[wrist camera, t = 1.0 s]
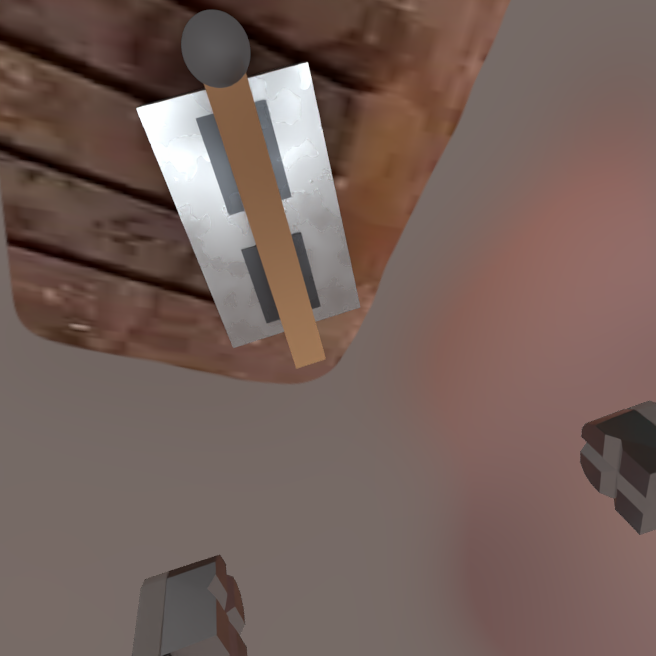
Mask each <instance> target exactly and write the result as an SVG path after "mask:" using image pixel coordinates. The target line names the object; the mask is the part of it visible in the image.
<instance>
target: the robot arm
mask: <svg viewBox="0 0 656 656" xmlns="http://www.w3.org/2000/svg"><path fill="white" fill-rule="evenodd" d="M581 437H582V438H583V439H584V440H585V441H586V442H587V443H586V444H585V446H584V447H583V449H582V450H581V451H580V463H581V466H582V468H583V471H584V473H585V475H586V477H587V478H588V480H589V481H590V483H591V484H592V485H593V486H594V487H595V489H596V490H597V491H598V492H599V493H601V494H604V495H606V496H609V497H611V498H614V505H615V510H616V511H617V512H618V513H619V514H620V515H621V516H622V517H623V518H624V519H625V520H626V521H627V522H628V523H629V524H630V525H631V526H632V527H633V528H634V529H635V530H636V531H637V533H638V534H639V535H641V534H644V533H647V532H650V531H652V530H655V529H656V402H652V401H647V402H644V403H641V404H638V405H635V406H633V407H630V408H627V409H623V410H620V411H617V412H615V413H612V414H609V415H607V416H604V417H601V418H599V419H596V420H593V421H591V422H588V423H586V424H585V425H584V426H583V428H582V435H581ZM244 625H245V617H244V607H243V603H242V598H241V594H240V590H239V588H238V585H237V583H236V581H235V579H234V577H233V576H230V575H227V573H226V563H225V561H224V560H223V558H222V557H221V555H217V556H214V557H211V558H208V559H205V560H201V561H199V562H195V563H192V564H189V565H186V566H183V567H180V568H177V569H174V570H171V571H168V572H165V573H162V574H159V575H156V576H153V577H151V578H148V579H145V580H144V583H143V585H142V587H141V590H140V598H139V606H138V613H137V621H136V628H135V636H134V644H133V651H132V656H247V647H246V645H245V643H244V642H243V640H242V638H241V637H240V634H241V632H242V630H243V628H244Z"/></svg>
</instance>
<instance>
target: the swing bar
mask: <svg viewBox="0 0 656 656" xmlns="http://www.w3.org/2000/svg"><path fill="white" fill-rule="evenodd" d="M181 49H182V55H183V58H184V61H185V63H186V65H187V67H188V69H189V70H190V72H191V73H192V74H193V75H194V77H196V78H197V79H198V80H199V81H200V82H202V83H204V86H205V89H206V92H207V95H208V98H209V102H210V105H211V108H212V111H213V114H214V117H215V120H216V123H217V126H218V129H219V132H220V135H221V138H222V141H223V145H224V148H225V151H226V154H227V157H228V160H229V163H230V166H231V169H232V172H233V175H234V178H235V181H236V184H237V188H238V191H239V194H240V197H241V200H242V203H243V206H244V209H245V212H246V215H247V218H248V221H249V224H250V228H251V231H252V234H253V237H254V240H255V243H256V246H257V249H258V252H259V255H260V258H261V261H262V264H263V267H264V271H265V274H266V277H267V280H268V283H269V286H270V289H271V292H272V295H273V298H274V301H275V304H276V307H277V310H278V314H279V317H280V320H281V323H282V326H283V329H284V332H285V335H286V338H287V341H288V344H289V347H290V350H291V353H292V357H293V360H294V363H295V366H296V369H297V368H300V367H303V366H306V365H309V364H312V363H315V362H318V361H321V360H325V359H326V358H325V354H324V350H323V347H322V343H321V340H320V336H319V333H318V329H317V325H316V322H315V318H314V315H313V311H312V307H311V304H310V300H309V297H308V293H307V290H306V286H305V282H304V279H303V275H302V272H301V268H300V264H299V261H298V257H297V254H296V250H295V246H294V243H293V239H292V236H291V232H290V229H289V225H288V221H287V218H286V214H285V211H284V207H283V203H282V200H281V196H280V193H279V189H278V185H277V182H276V178H275V175H274V171H273V168H272V164H271V160H270V157H269V153H268V150H267V146H266V142H265V139H264V135H263V132H262V128H261V125H260V121H259V117H258V114H257V110H256V107H255V103H254V99H253V96H252V92H251V89H250V85H249V81H248V78H247V74H246V71H247V69H248V66H249V63H250V44H249V40H248V37H247V35H246V33H245V31H244V29H243V27H242V26H241V25H240V24H239V22H238V21H237V20H236V19H234V18H233V17H232V16H230V15H229V14H227V13H225V12H222V11H219V10H205V11H202V12H199V13H198V14H196V15H195V16H193V17H192V18H191V19H190V20H189V21H188V23H187V24H186V26H185V28H184V31H183V34H182V40H181Z"/></svg>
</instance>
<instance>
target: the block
mask: <svg viewBox="0 0 656 656" xmlns="http://www.w3.org/2000/svg"><path fill="white" fill-rule="evenodd" d="M247 78H248V81H249V85H250V89H251V92H252V96H253V99H254V103H255V107H256V110H257V114H258V117H259V121H260V125H261V128H262V132H263V135H264V139H265V142H266V146H267V150H268V153H269V157H270V160H271V164H272V168H273V171H274V175H275V178H276V182H277V185H278V189H279V193H280V196H281V200H282V203H283V207H284V211H285V214H286V218H287V221H288V225H289V229H290V232H291V236H292V239H293V243H294V246H295V250H296V254H297V257H298V261H299V264H300V268H301V272H302V275H303V279H304V282H305V286H306V290H307V293H308V297H309V300H310V304H311V307H312V311H313V315H314V318H315V322H316V321H319V320H322V319H325V318H328V317H332V316H335V315H338V314H341V313H344V312H347V311H350V310H353V309H357V308H360V304H359V299H358V294H357V290H356V285H355V280H354V276H353V271H352V266H351V261H350V257H349V252H348V247H347V243H346V238H345V233H344V229H343V224H342V219H341V215H340V210H339V205H338V201H337V196H336V191H335V187H334V182H333V177H332V173H331V168H330V163H329V158H328V154H327V149H326V144H325V140H324V135H323V130H322V126H321V121H320V116H319V112H318V107H317V102H316V98H315V93H314V88H313V84H312V79H311V74H310V70H309V65H308V62H298V63H294V64H291V65H287V66H283V67H280V68H276V69H272V70H269V71H265V72H261V73H257V74H254V75H250V76H247ZM136 109H137V112H138V114H139V116H140V119H141V121H142V124H143V126H144V129H145V131H146V134H147V136H148V139H149V141H150V144H151V146H152V149H153V151H154V154H155V156H156V158H157V161H158V163H159V166H160V168H161V171H162V173H163V176H164V178H165V181H166V183H167V186H168V188H169V191H170V193H171V195H172V198H173V200H174V203H175V205H176V208H177V210H178V213H179V215H180V218H181V220H182V223H183V225H184V228H185V230H186V232H187V235H188V237H189V240H190V242H191V245H192V247H193V250H194V252H195V255H196V257H197V260H198V262H199V265H200V267H201V270H202V272H203V274H204V277H205V279H206V282H207V284H208V287H209V289H210V292H211V294H212V297H213V299H214V302H215V304H216V307H217V309H218V311H219V314H220V316H221V319H222V321H223V324H224V326H225V329H226V331H227V334H228V336H229V339H230V341H231V344H232V346H233V348H235V347H238V346H241V345H244V344H247V343H250V342H253V341H256V340H260V339H263V338H266V337H269V336H272V335H275V334H278V333H282V332H284V329H283V326H282V323H281V320H280V317H279V314H278V310H277V307H276V304H275V301H274V298H273V295H272V292H271V289H270V286H269V283H268V280H267V277H266V274H265V271H264V267H263V264H262V261H261V258H260V255H259V252H258V249H257V246H256V243H255V240H254V237H253V234H252V231H251V228H250V224H249V221H248V218H247V215H246V212H245V209H244V206H243V203H242V200H241V197H240V194H239V191H238V188H237V184H236V181H235V178H234V175H233V172H232V169H231V166H230V163H229V160H228V157H227V154H226V151H225V148H224V145H223V141H222V138H221V135H220V132H219V129H218V126H217V123H216V120H215V117H214V114H213V111H212V108H211V105H210V102H209V98H208V95H207V92H206V89H205V88H202V89H198V90H194V91H191V92H187V93H183V94H180V95H176V96H172V97H169V98H165V99H161V100H157V101H154V102H150V103H146V104H143V105H140V106H139V107H137V108H136Z"/></svg>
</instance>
